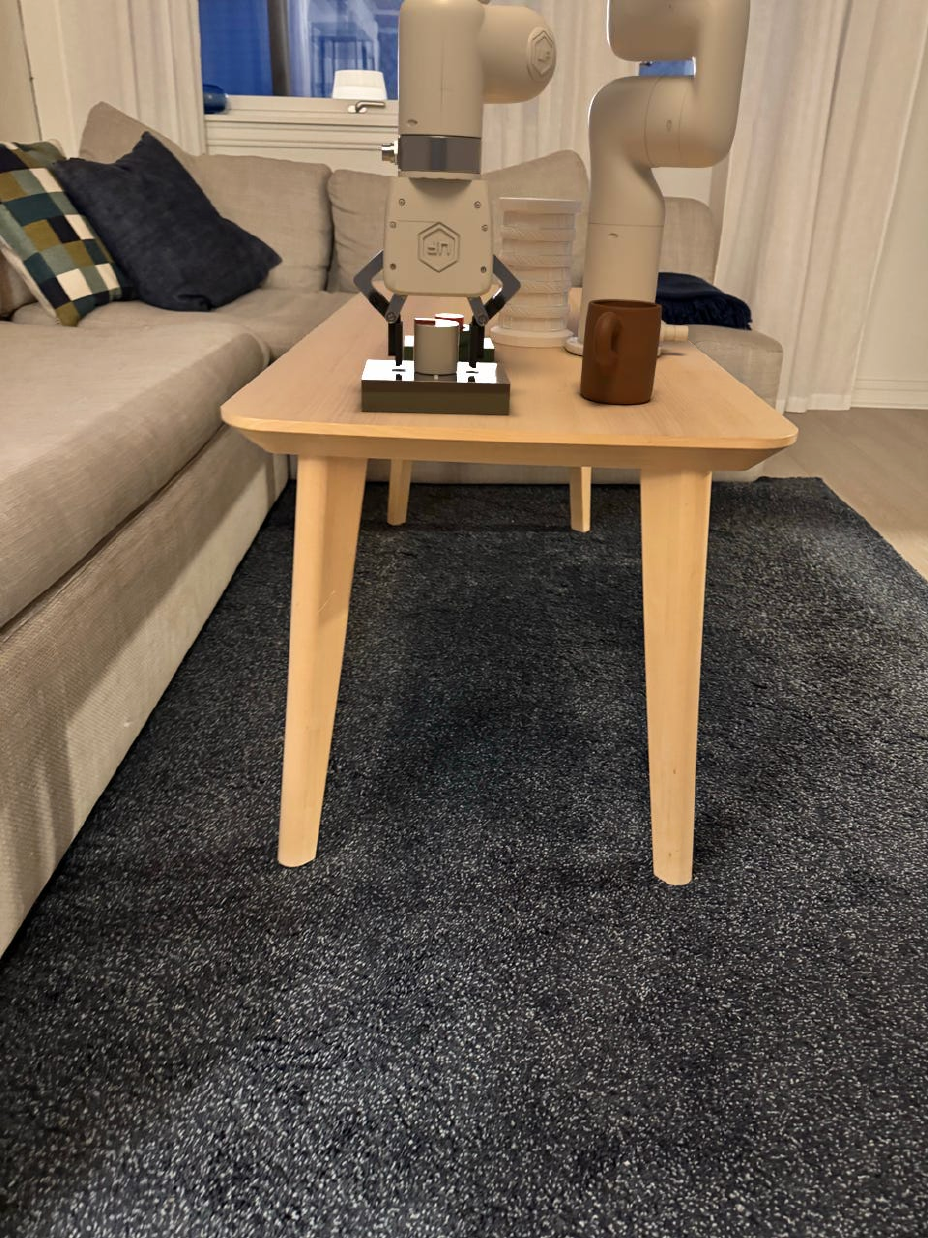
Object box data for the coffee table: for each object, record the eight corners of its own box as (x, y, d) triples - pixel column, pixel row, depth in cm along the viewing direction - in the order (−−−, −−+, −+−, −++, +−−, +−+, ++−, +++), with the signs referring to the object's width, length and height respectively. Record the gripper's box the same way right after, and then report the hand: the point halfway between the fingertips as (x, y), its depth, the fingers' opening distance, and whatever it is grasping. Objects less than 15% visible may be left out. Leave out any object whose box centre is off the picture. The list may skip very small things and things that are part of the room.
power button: (462, 328, 114) (463, 314, 114) (464, 332, 111) (464, 318, 110) (434, 327, 114) (434, 313, 113) (434, 332, 111) (434, 317, 110)
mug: (631, 418, 87) (643, 315, 83) (555, 408, 90) (563, 308, 86) (659, 395, 97) (670, 302, 93) (590, 386, 100) (599, 296, 95)
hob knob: (457, 366, 91) (459, 317, 89) (457, 375, 87) (459, 323, 85) (414, 365, 91) (414, 315, 89) (412, 374, 87) (412, 322, 85)
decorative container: (582, 338, 130) (594, 200, 122) (558, 350, 120) (570, 201, 113) (506, 331, 134) (513, 197, 126) (477, 342, 124) (483, 197, 116)
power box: (489, 351, 118) (491, 323, 116) (494, 362, 111) (495, 333, 109) (405, 349, 117) (405, 320, 116) (403, 360, 110) (404, 330, 109)
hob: (500, 392, 95) (502, 361, 94) (509, 415, 86) (510, 381, 85) (367, 389, 95) (367, 358, 93) (361, 411, 86) (361, 377, 84)
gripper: (339, 156, 77) (344, 370, 85) (541, 164, 78) (527, 374, 86) (345, 157, 84) (349, 356, 92) (531, 165, 85) (519, 360, 93)
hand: (435, 363), depth 89 cm, fingers open, 6 cm apart
